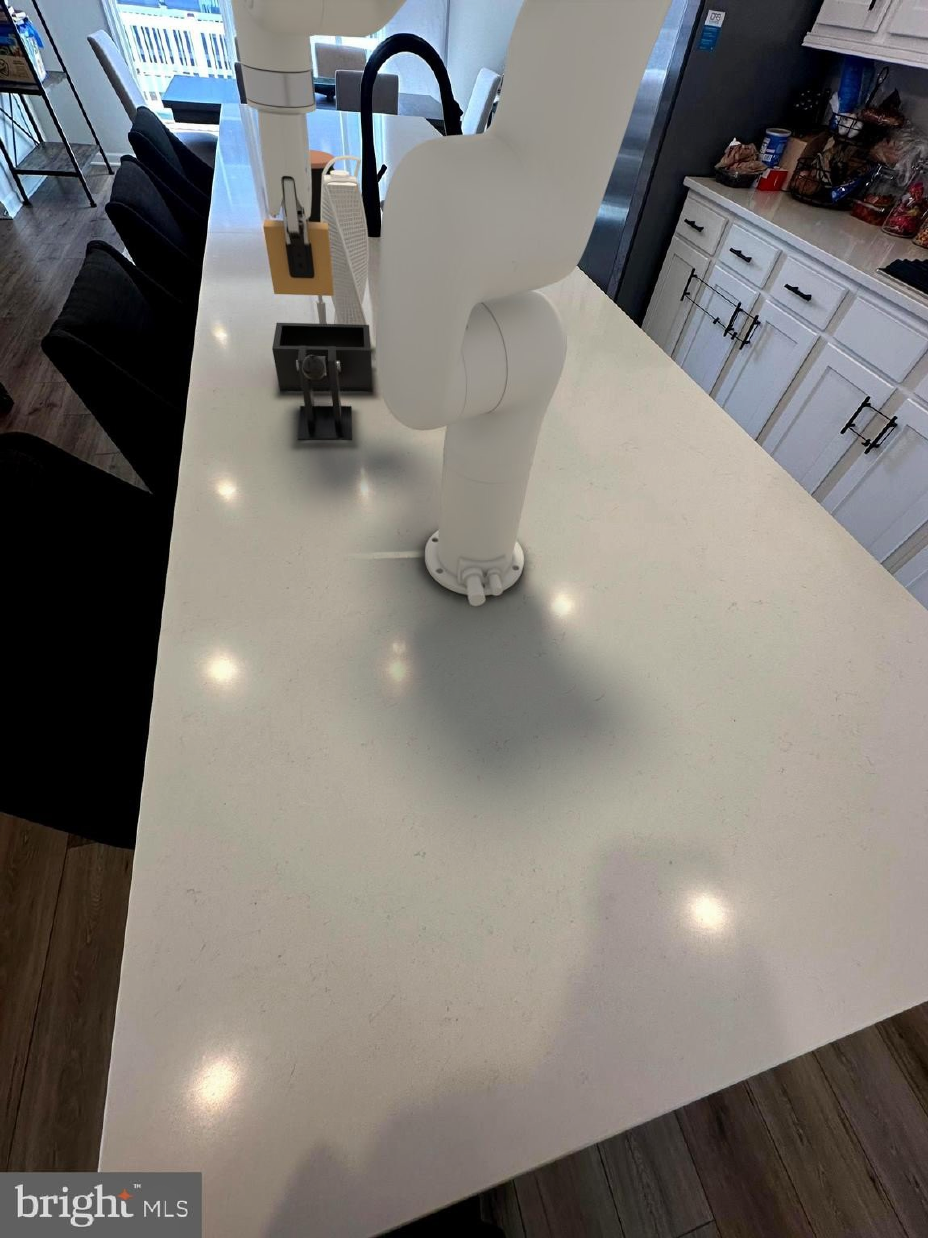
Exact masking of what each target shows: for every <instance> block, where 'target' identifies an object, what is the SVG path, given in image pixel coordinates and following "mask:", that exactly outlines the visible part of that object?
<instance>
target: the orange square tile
mask: <svg viewBox="0 0 928 1238" xmlns="http://www.w3.org/2000/svg"><path fill="white" fill-rule="evenodd" d="M299 225H302V223H299ZM262 228H263V234H264V240H265V246H266V252H267V258H268V264H269V269H270V277H271V282H272V289H273V292H274V293H273V294H274V295H289V296H291V295H293V296H318V295H321V296H322V297H323V296H325V297H331V296H334V286H333V274H332V263H331V251H330V240H329V229H328V223H322V222H307V230H308V239H309V243H311V247H312V256H313V265H314V278H292V277H291V276H290V273H289V266H288V259H287V252H286V244H285V242H286V236H285V228H284V221H283V219H282V220H281V219H264V221H263V226H262Z"/></svg>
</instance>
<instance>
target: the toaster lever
mask: <svg viewBox="0 0 928 1238" xmlns="http://www.w3.org/2000/svg"><path fill="white" fill-rule="evenodd" d="M302 370H303V373H304V374H305V376H306V377H307V378H309V379H311V380H320V379H321V378H322V377H323V376H324V375H328V370H327V357H326V356H316V355H309V356H307V357H306V358H305V359H304V360H303V363H302Z"/></svg>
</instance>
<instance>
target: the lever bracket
mask: <svg viewBox="0 0 928 1238" xmlns="http://www.w3.org/2000/svg"><path fill="white" fill-rule="evenodd" d="M307 356H308V352H307V346H299V356H298V360H296V366H297V371H300V377H301V384H302V391H301V392H302V395H303V396H302V398H303V403H304V405H300V406H299V417H298V426H297V428H298V429H297V441H353V408H352V405H342V400H341V399H342V398H341V391H340V388H339V377H338V371H341V368H340V361H337V356H336V347H335V346H329V347H328V367H329V376H330V385H331V391H330V394H331V401H332V402H331V403H332V405H315V397H314V391H313V388H312V381H311V379H309V378H307V377H306V376H305V374H304V373H303V370H302V363H303V360H304V359H305V358H306V357H307Z"/></svg>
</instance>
